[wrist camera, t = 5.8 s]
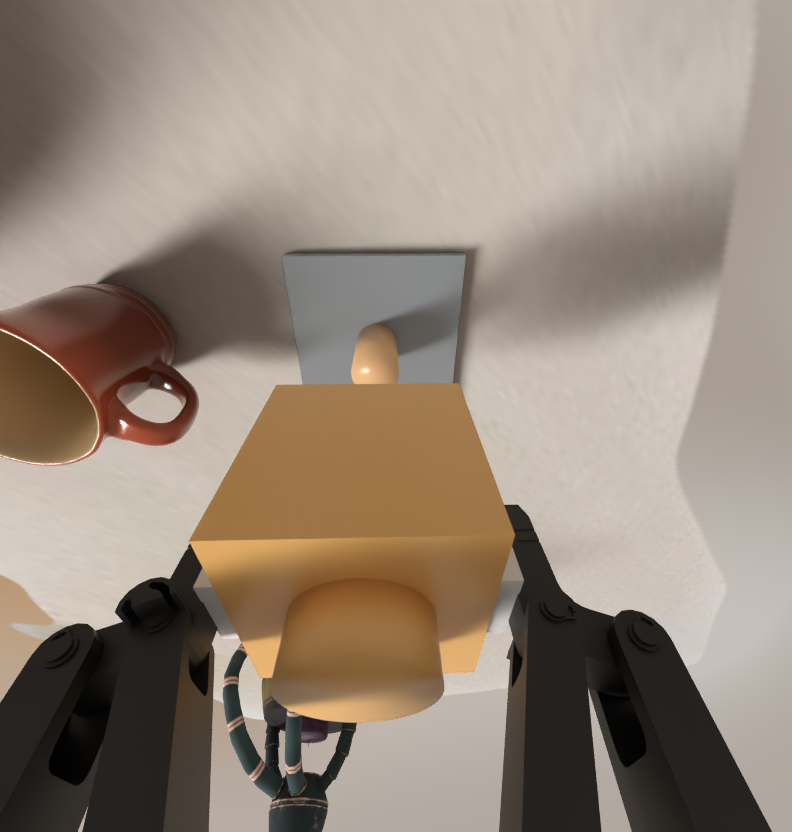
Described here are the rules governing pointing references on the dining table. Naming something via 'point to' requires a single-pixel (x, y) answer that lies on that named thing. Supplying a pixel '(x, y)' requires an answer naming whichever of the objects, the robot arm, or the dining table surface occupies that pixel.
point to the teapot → (298, 791)
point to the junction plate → (375, 316)
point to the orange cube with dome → (358, 546)
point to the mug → (85, 374)
